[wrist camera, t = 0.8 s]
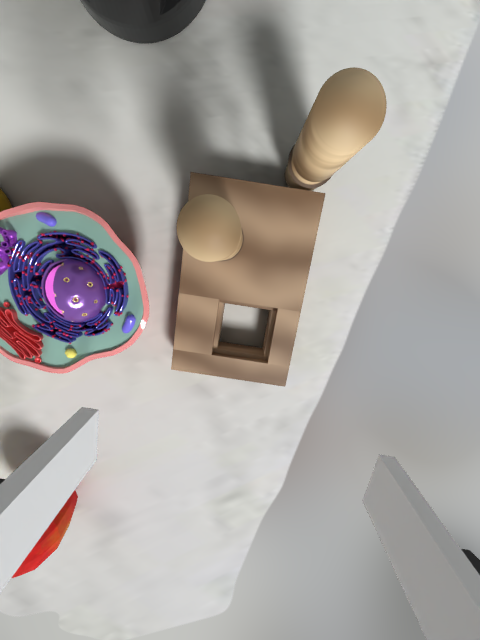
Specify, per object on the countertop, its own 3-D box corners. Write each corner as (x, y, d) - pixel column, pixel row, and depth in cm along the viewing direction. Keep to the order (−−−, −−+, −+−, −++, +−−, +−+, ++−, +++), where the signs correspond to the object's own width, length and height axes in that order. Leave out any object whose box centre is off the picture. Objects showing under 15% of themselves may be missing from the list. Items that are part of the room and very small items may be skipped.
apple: (97, 470, 41) (37, 555, 29) (86, 515, 43) (26, 611, 31) (37, 452, 41) (-48, 532, 29) (29, 498, 43) (-54, 590, 31)
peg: (286, 147, 30) (321, 59, 17) (328, 154, 30) (397, 72, 17) (279, 193, 31) (306, 145, 18) (319, 199, 31) (376, 157, 18)
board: (197, 182, 31) (160, 125, 18) (315, 201, 32) (368, 158, 18) (179, 357, 36) (139, 417, 23) (280, 372, 37) (301, 441, 23)
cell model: (3, 216, 33) (-119, 195, 22) (166, 215, 32) (124, 193, 21) (29, 347, 37) (-65, 386, 26) (174, 348, 36) (142, 388, 25)
